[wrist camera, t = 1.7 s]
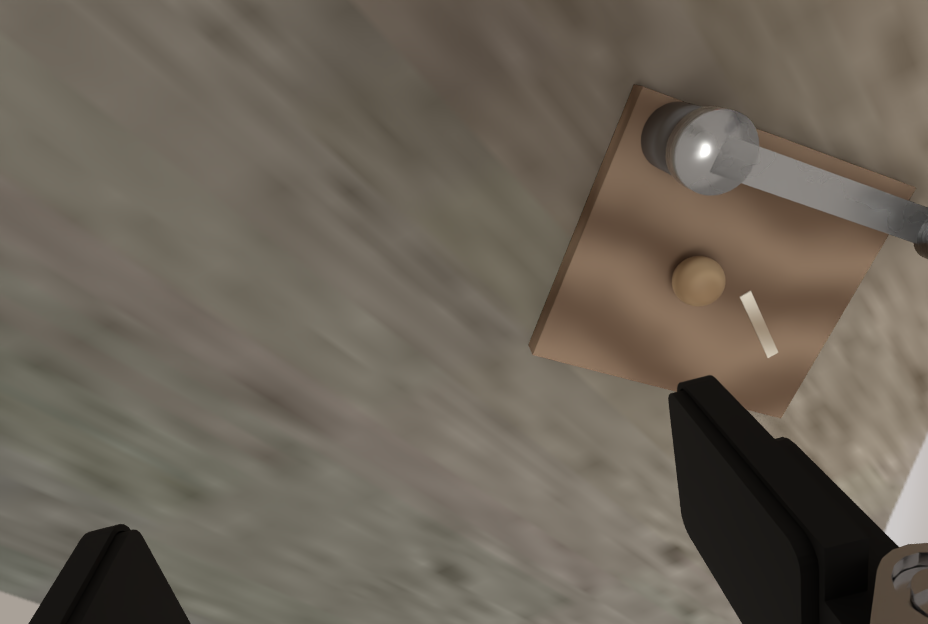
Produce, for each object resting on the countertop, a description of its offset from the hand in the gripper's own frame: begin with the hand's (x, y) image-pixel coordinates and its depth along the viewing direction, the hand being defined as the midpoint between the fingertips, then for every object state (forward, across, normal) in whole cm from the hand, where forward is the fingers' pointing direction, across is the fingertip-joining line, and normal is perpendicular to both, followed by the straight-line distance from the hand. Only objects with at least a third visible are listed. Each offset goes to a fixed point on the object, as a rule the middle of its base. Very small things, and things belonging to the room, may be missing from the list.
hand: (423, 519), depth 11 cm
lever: (+25, -23, +5) cm, 34 cm away
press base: (+31, -19, +11) cm, 38 cm away
